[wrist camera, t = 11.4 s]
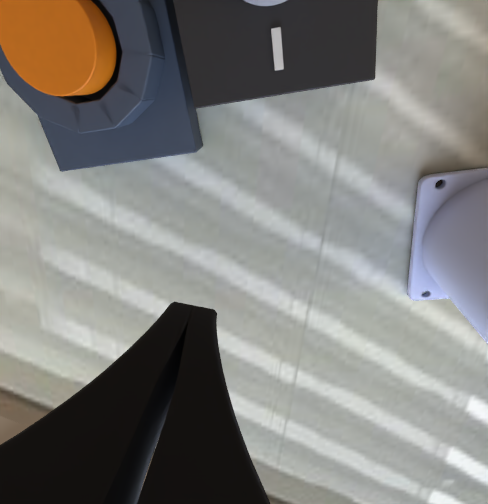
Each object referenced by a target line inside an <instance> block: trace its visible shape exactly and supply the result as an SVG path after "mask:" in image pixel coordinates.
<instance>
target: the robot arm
mask: <svg viewBox="0 0 488 504" xmlns="http://www.w3.org/2000/svg"><path fill="white" fill-rule="evenodd" d="M441 179H442V184H441V185H440V186H439V187H435V184H436V182H437V181H438V180H441ZM426 290H427V292H426V293H424V294H422V292H424V291H426ZM407 295H408V296H409V298H410V299H412V300H415V301H418V300H432V299H446V298H450V299H451V301H452V302H453V303H454V304H455V305H456V307H457V308H458V309H459V310H460V311H461V313H462V314H463V315H464V316H465V317H466V319H467V320H468V321H469V322H470V323H471V325H472V326H473V327H474V328H475V329H476V331H477V332H478V333H479V334H480V335H481V337H482V338H483V339H484V340H485V341H486V343H487V344H488V168H479V169H471V170H463V171H454V172H446V173H438V174H429V175H426V176H424V177H422V178H421V179H420V181H419V183H418V188H417V198H416V208H415V218H414V228H413V238H412V248H411V258H410V268H409V278H408V288H407ZM216 318H217V313H216V311H215V310H213V309H208V308H203V307H198V306H193V305H188V304H183V303H178V302H173V303H171V304H170V305H169V307H168V308H167V309H166V310H165V312H164V313H163V314H162V315H161V316H160V317H159V319H158V320H157V321H156V322H155V323H154V324H153V325H152V326H151V327H150V328H149V329H148V331H147V332H146V333H145V334H144V335H143V336H142V337H141V338H139V339H138V340H137V341H136V342H135V343H134V344H133V345H132V346H131V347H130V348H129V349H128V350H127V351H126V352H125V353H124V354H123V355H122V356H121V357H119V358H118V359H117V360H116V361H115V362H114V363H113V364H112V365H110V366H109V367H108V368H107V369H106V370H105V371H104V372H102V373H101V374H100V375H99V376H98V377H96V378H95V379H94V380H93V381H91V382H90V383H89V384H88V385H86V386H85V387H84V388H83V389H81V390H80V391H79V392H77V393H76V394H75V395H73V396H72V397H71V398H69V399H68V400H67V401H65V402H64V403H63V404H61V405H60V406H58V407H57V408H55V409H54V410H53V411H51V412H50V413H48V414H47V415H45V416H44V417H43V418H41V419H40V420H38V421H37V422H35V423H34V424H32V425H31V426H29V427H28V428H27V429H25V430H24V431H22V432H21V433H19V434H17V435H16V436H14V437H13V438H11V439H9V440H8V441H6V442H4V443H3V444H1V445H0V504H270V502H269V499H268V497H267V495H266V493H265V490H264V488H263V486H262V483H261V481H260V479H259V476H258V474H257V472H256V470H255V467H254V465H253V463H252V460H251V458H250V455H249V453H248V450H247V448H246V445H245V442H244V440H243V437H242V434H241V431H240V428H239V426H238V423H237V420H236V417H235V414H234V410H233V407H232V404H231V400H230V397H229V393H228V390H227V386H226V382H225V378H224V373H223V369H222V364H221V359H220V353H219V347H218V339H217V328H216ZM159 436H160V437H159ZM158 439H159V440H158ZM157 442H158V443H157ZM156 444H157V446H156ZM155 447H156V449H155ZM154 450H155V452H154ZM153 452H154V455H153ZM152 455H153V458H152ZM151 458H152V461H151V464H150V467H149V470H148V473H147V476H146V479H145V482H144V478H145V475H146V472H147V469H148V466H149V463H150V460H151ZM143 482H144V484H143ZM142 485H143V487H142ZM141 488H142V490H141ZM140 492H141V493H140Z"/></svg>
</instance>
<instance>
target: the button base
mask: <svg viewBox="0 0 488 504" xmlns="http://www.w3.org/2000/svg"><path fill="white" fill-rule="evenodd" d="M91 1H92V2H93V3H94V4H95V5H96V6H97V7H98V8H99V9H100V10H101V12H102V13H103V14H104V16H105V17H106V19H107V21H108V23H109V25H110V27H111V29H112V32H113V35H114V39H115V43H116V65H115V69H114V72H113V75H112V77H111V79H110V81H109V82H108V83H107V84H106V85H105V86H104V87H103V88H102V89H101V90H99V91H97V92H95V93H93V94H89V95H75V96H53V95H49V94H46V93H43V92H41V91H39V90H37V89H35V88H34V87H32V86H31V85H29V84H28V83H27V82H26V81H24V80H23V79H22V78H21V77H20V76H19V75H18V74H17V72H16V71H15V70H14V69H13V67H12V66H11V65H10V63H9V61H8V60H7V58H6V56H5V54H4V52H3V50H2V47H1V45H0V69H1V71H2V74H3V76H4V78H5V81H6V82H7V84H8V85H9V86H10V87H11V88H12V89H13V90H14V91H15V92H16V93H17V94H18V95H19V96H20V97H21V98H22V99H23V100H24V101H25V102H26V103H27V104H28V105H29V107H30V108H31V109H32V110H33V111H34V112H35V113H36V114H37V115H38V117H39V120H40V122H41V125H42V127H43V130H44V132H45V134H46V137H47V139H48V142H49V144H50V147H51V149H52V152H53V154H54V157H55V159H56V161H57V164H58V166H59V169H60V171H68V170H75V169H82V168H89V167H96V166H103V165H110V164H117V163H124V162H131V161H138V160H145V159H152V158H159V157H166V156H173V155H180V154H188V153H195V152H197V151H198V150H199V149H200V148H201V147H202V146H203V144H202V139H201V134H200V129H199V124H198V119H197V114H196V109H195V108H194V104H193V99H192V94H191V89H190V84H189V79H188V74H187V69H186V64H185V59H184V54H183V49H182V44H181V39H180V34H179V29H178V24H177V19H176V13H175V8H174V3H173V0H91Z"/></svg>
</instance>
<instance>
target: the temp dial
mask: <svg viewBox="0 0 488 504" xmlns="http://www.w3.org/2000/svg"><path fill="white" fill-rule="evenodd" d="M244 1H246V2H248V3H250V4H253V5H258V6H272V5H277V4H280V3H283V2H285V1H287V0H244Z"/></svg>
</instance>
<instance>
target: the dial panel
mask: <svg viewBox="0 0 488 504" xmlns="http://www.w3.org/2000/svg"><path fill="white" fill-rule="evenodd" d="M173 3H174V8H175V13H176V19H177V24H178V29H179V34H180V39H181V44H182V49H183V54H184V59H185V64H186V69H187V74H188V79H189V84H190V89H191V94H192V99H193V104H194V108H202V107H208V106H214V105H220V104H226V103H233V102H239V101H245V100H251V99H257V98H264V97H270V96H276V95H282V94H288V93H294V92H301V91H307V90H313V89H319V88H325V87H332V86H338V85H344V84H350V83H356V82H363V81H369V80H374V79H375V66H376V36H377V6H378V0H287V1H285V2H283V3H280V4H277V5H272V6H258V5H253V4H250V3H248V2H246V1H244V0H173Z"/></svg>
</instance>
